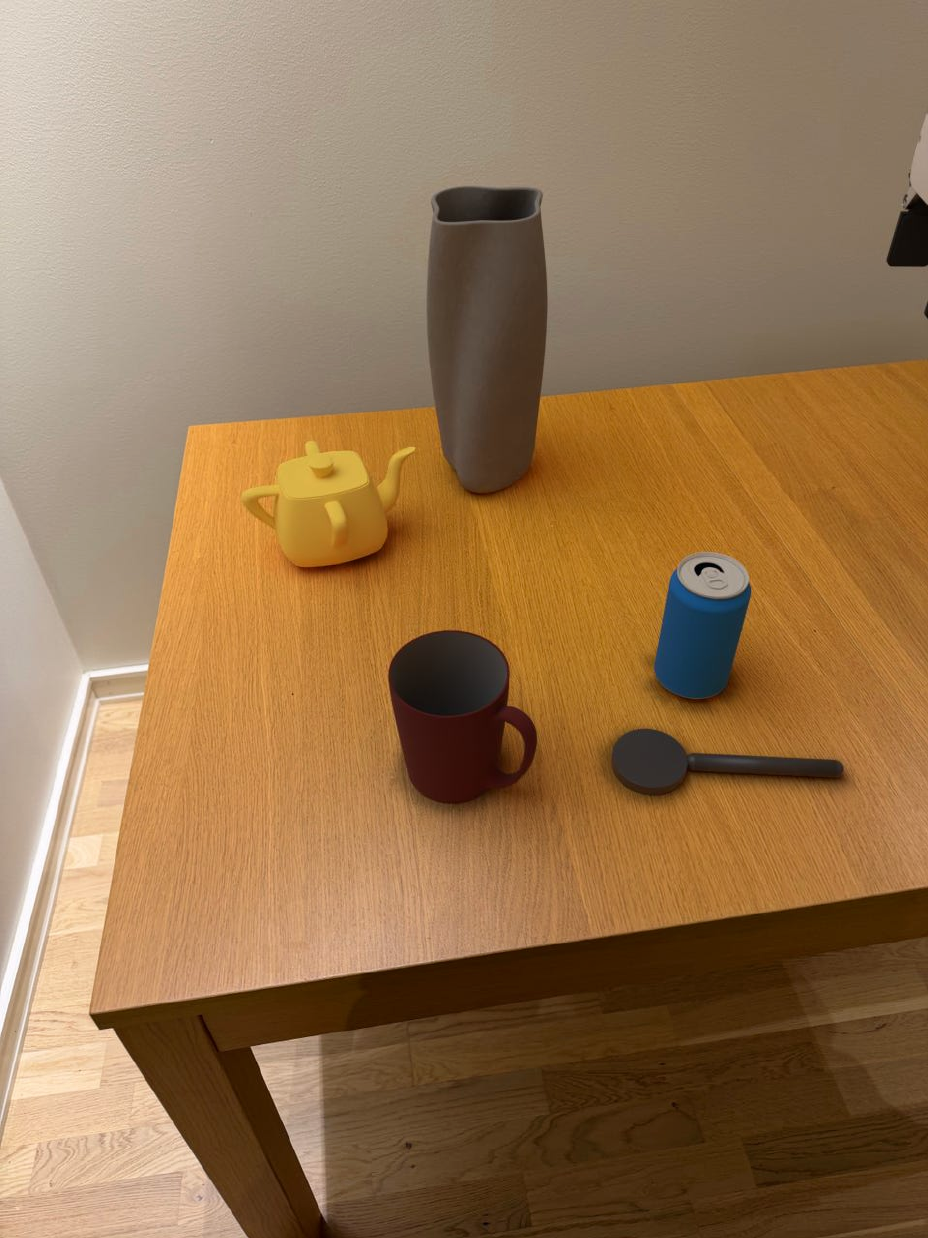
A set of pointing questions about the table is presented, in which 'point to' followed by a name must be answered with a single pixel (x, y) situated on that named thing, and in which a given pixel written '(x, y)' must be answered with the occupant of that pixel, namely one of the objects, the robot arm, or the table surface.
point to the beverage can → (702, 624)
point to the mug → (455, 714)
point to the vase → (487, 329)
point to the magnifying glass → (696, 763)
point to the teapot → (328, 506)
